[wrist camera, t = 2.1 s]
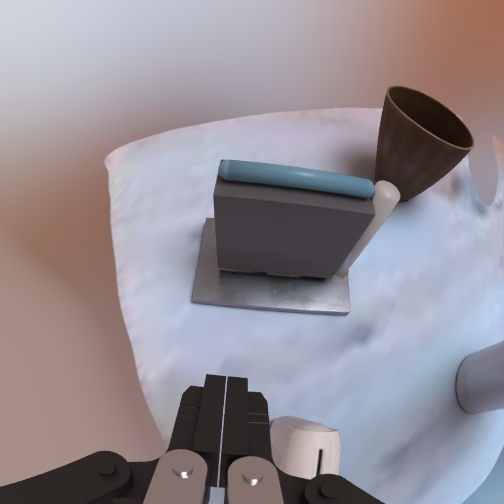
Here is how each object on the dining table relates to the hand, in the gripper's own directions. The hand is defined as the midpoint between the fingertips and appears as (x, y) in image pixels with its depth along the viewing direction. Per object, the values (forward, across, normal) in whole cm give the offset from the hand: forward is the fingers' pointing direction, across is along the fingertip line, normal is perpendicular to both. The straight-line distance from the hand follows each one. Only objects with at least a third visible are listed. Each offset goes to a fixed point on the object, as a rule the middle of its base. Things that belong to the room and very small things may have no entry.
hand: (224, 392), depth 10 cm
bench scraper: (+24, -5, +1) cm, 24 cm away
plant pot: (+37, -25, -10) cm, 46 cm away
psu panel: (+25, -4, +3) cm, 25 cm away
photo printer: (+9, -6, +19) cm, 22 cm away
